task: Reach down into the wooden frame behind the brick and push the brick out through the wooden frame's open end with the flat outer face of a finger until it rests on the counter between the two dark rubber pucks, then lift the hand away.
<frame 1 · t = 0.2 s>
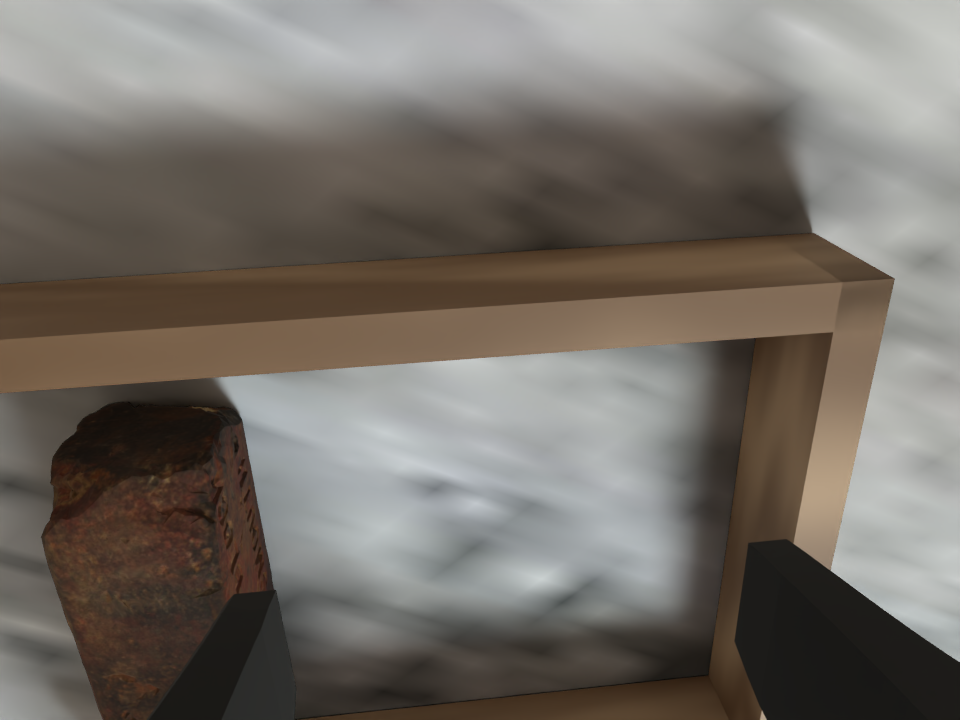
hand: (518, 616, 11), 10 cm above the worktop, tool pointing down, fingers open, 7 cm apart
wooden frame: (430, 532, 23), on the worktop
brick: (206, 543, 23), on the worktop
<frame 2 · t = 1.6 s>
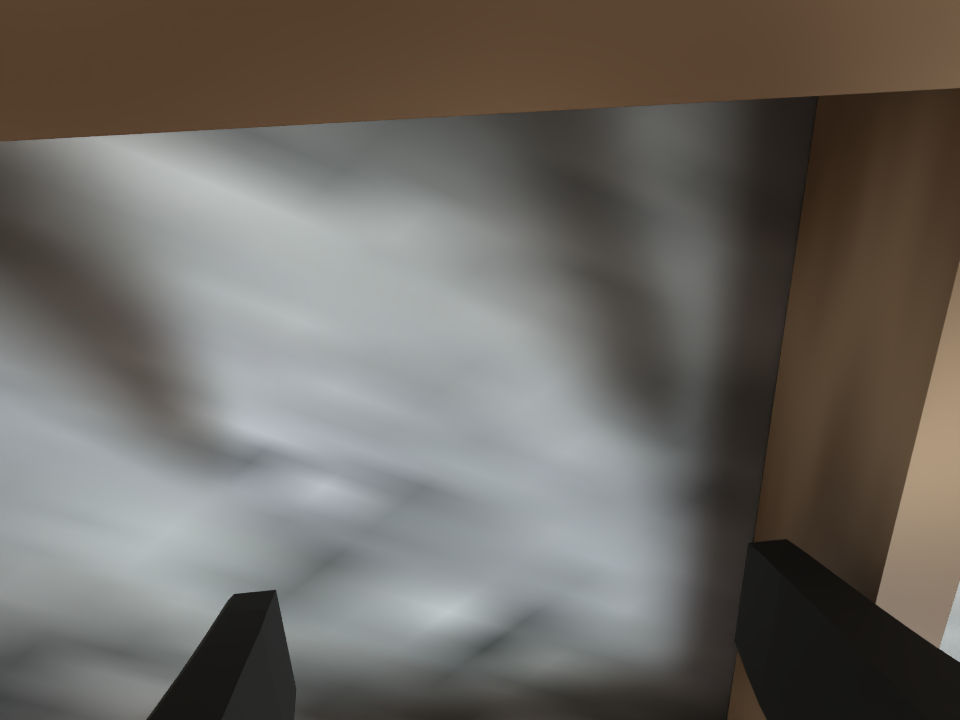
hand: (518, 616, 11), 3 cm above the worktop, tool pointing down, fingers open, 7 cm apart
wooden frame: (249, 535, 13), on the worktop
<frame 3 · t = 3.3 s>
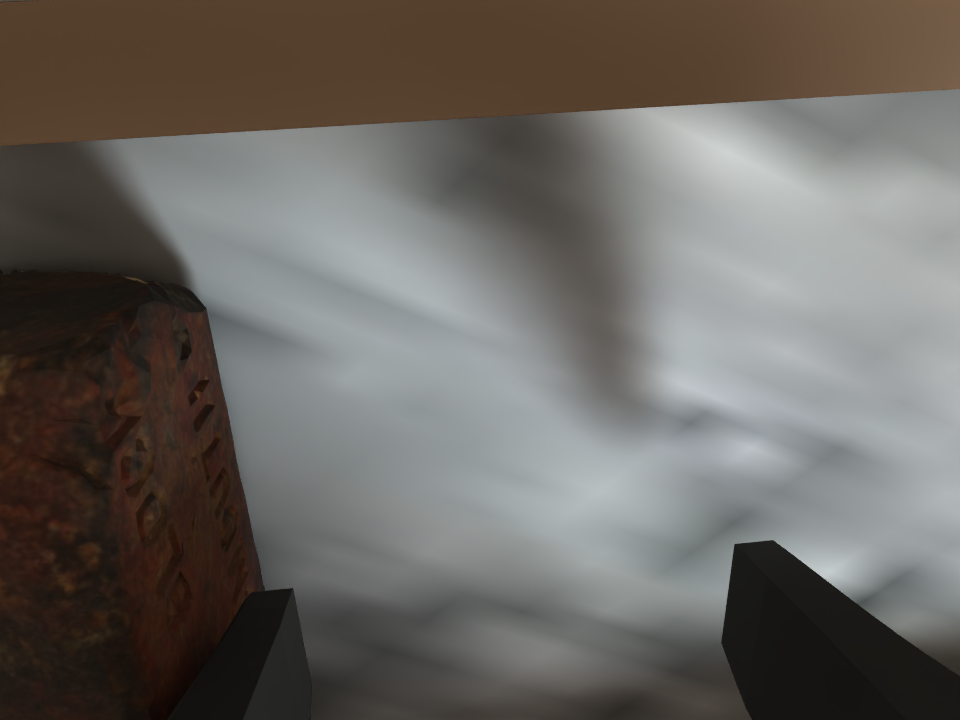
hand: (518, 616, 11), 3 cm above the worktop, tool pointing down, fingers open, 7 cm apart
wooden frame: (672, 496, 14), on the worktop
brick: (157, 535, 13), on the worktop, touching gripper
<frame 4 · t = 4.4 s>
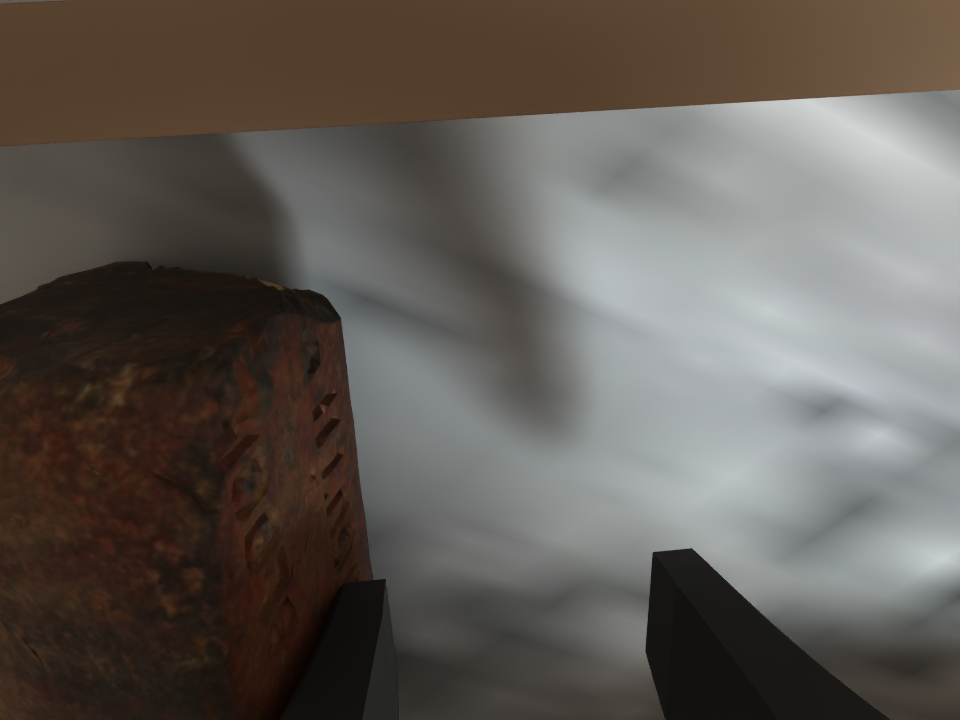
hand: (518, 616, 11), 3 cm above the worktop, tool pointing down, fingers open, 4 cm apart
wooden frame: (800, 482, 14), on the worktop
brick: (278, 537, 13), on the worktop, touching gripper
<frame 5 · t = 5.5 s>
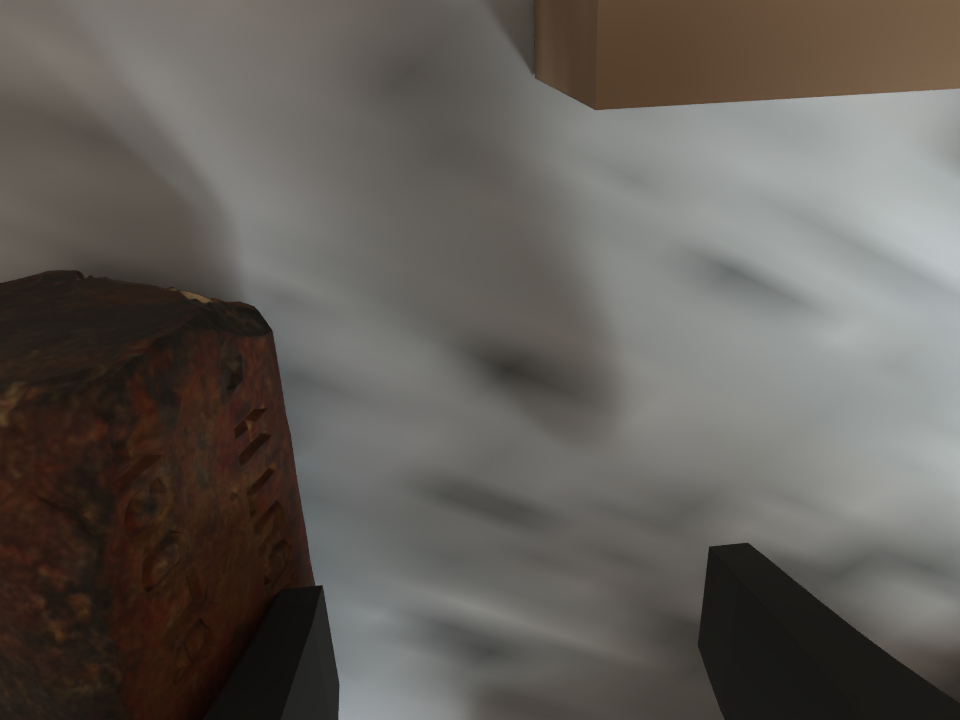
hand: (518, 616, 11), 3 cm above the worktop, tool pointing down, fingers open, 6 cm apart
brick: (225, 549, 13), on the worktop, touching gripper
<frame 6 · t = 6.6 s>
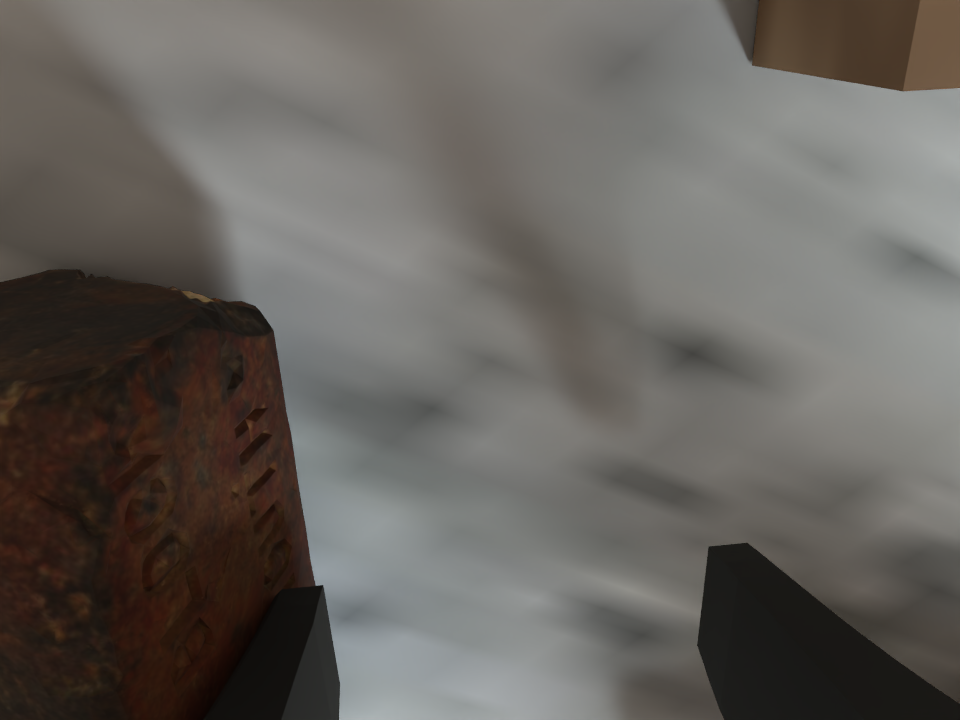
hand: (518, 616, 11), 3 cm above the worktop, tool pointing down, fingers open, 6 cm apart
brick: (225, 548, 13), on the worktop, touching gripper
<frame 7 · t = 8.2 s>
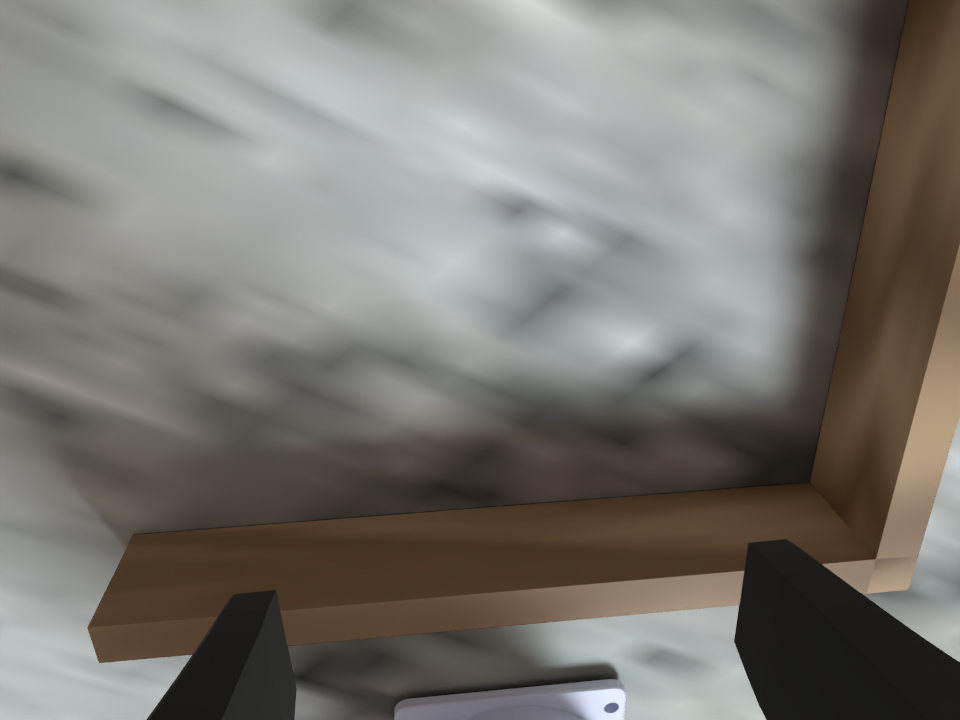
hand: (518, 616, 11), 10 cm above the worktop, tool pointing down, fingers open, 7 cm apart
wooden frame: (507, 269, 19), on the worktop
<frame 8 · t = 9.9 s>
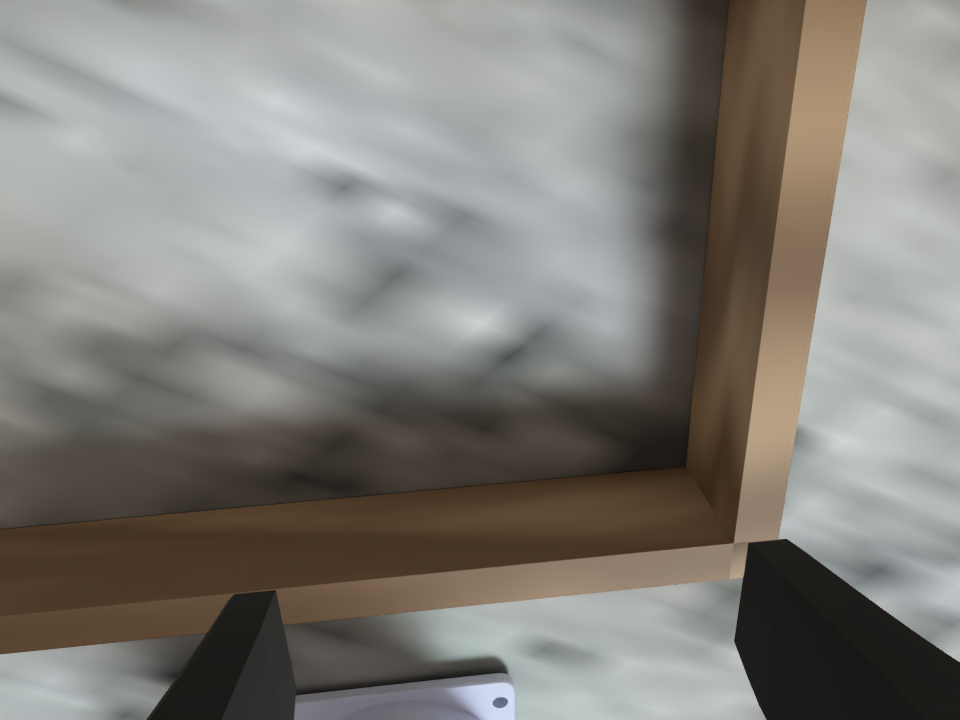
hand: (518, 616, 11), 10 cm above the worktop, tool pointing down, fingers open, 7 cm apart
wooden frame: (340, 249, 19), on the worktop
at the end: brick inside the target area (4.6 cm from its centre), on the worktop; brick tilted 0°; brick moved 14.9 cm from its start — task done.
